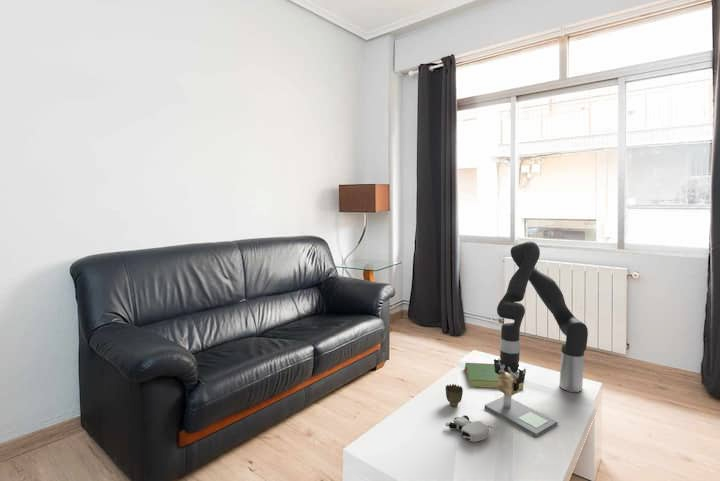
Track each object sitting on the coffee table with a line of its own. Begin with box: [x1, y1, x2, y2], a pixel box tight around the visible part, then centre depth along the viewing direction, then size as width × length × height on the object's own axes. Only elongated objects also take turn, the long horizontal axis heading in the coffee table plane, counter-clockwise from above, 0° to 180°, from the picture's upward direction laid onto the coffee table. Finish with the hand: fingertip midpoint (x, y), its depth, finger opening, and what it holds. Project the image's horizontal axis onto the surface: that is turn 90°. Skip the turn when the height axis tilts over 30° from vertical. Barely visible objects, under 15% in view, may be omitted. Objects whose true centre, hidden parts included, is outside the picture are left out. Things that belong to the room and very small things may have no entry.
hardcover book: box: [464, 362, 525, 390], centre depth 194 cm, size 25×19×4 cm
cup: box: [445, 383, 464, 408], centre depth 169 cm, size 8×7×8 cm
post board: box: [484, 393, 559, 438], centre depth 160 cm, size 14×24×8 cm, turn 33°
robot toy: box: [445, 414, 495, 443], centre depth 150 cm, size 12×4×15 cm
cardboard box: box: [497, 372, 520, 397], centre depth 164 cm, size 6×6×6 cm
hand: (508, 387), depth 164 cm, fingers closed on cardboard box, 6 cm apart
